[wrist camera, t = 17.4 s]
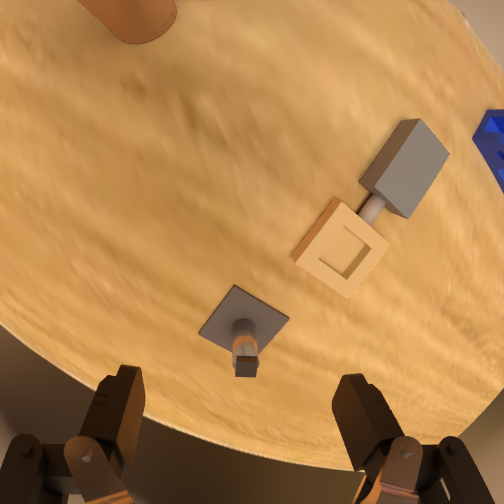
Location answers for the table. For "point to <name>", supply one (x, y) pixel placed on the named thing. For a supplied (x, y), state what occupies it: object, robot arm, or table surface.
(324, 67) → the table surface
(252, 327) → the square capped bottle
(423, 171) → the tray with grey block
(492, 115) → the bracket
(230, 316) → the mat
